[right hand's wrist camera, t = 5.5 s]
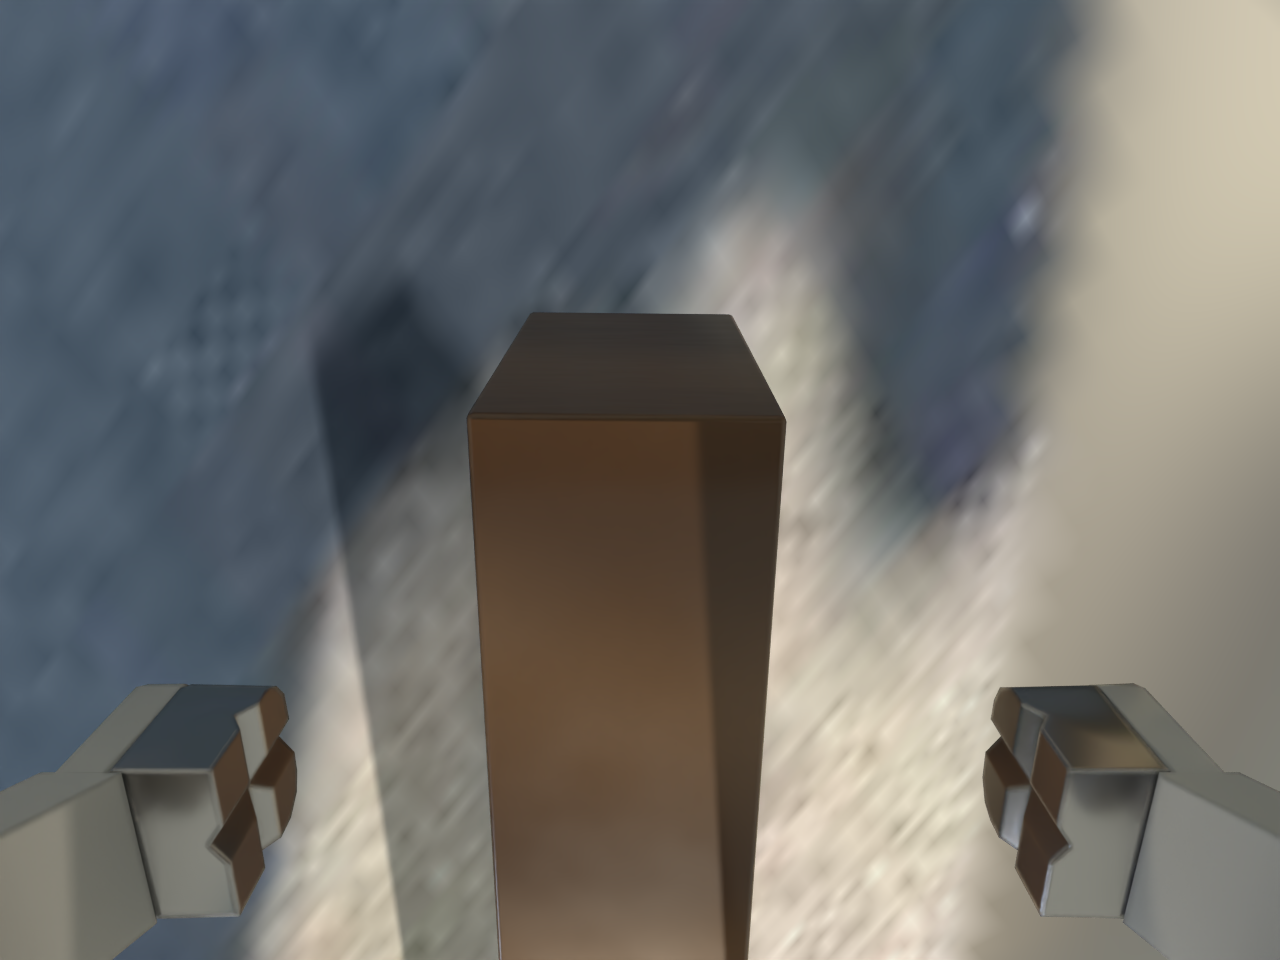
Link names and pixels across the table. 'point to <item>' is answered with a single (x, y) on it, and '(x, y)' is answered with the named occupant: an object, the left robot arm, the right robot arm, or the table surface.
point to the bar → (625, 631)
